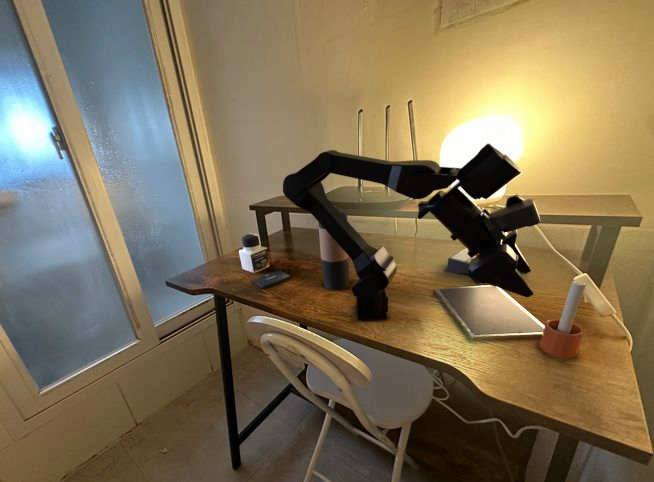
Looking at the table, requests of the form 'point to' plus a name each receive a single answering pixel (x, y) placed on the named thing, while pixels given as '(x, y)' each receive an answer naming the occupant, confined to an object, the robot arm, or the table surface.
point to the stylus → (571, 306)
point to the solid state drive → (270, 279)
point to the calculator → (461, 262)
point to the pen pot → (561, 340)
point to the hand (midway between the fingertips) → (529, 283)
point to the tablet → (489, 313)
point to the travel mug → (333, 261)
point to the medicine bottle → (253, 254)
